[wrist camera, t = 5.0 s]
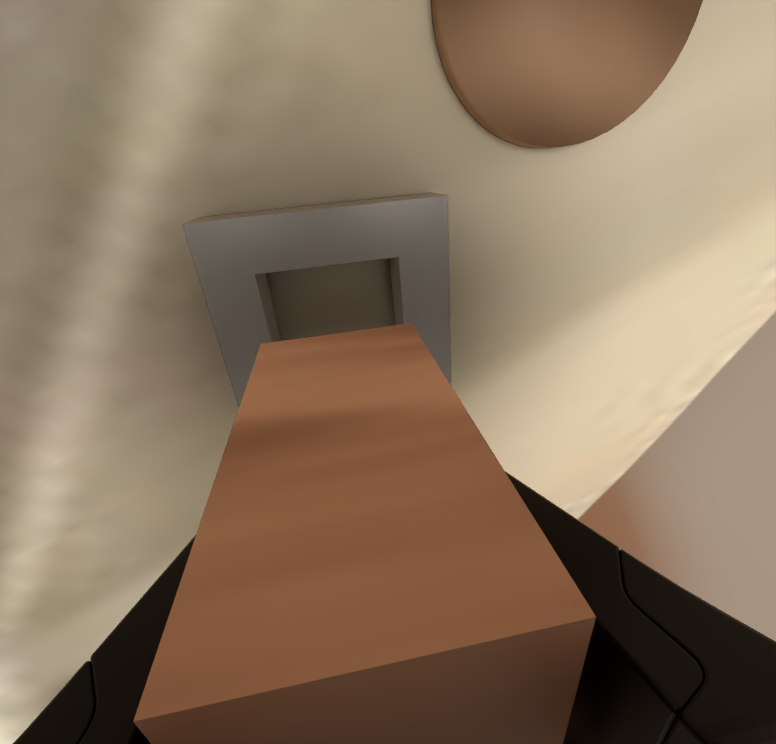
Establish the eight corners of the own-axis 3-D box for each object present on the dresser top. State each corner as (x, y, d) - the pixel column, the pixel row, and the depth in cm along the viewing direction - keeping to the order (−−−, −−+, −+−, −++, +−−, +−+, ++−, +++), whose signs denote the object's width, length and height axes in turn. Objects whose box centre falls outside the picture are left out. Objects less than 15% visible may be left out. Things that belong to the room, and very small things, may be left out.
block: (418, 441, 12) (550, 791, 5) (291, 463, 12) (253, 872, 5) (411, 323, 11) (595, 616, 4) (260, 343, 10) (134, 721, 3)
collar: (437, 385, 21) (451, 410, 19) (257, 414, 20) (250, 443, 18) (430, 192, 17) (447, 195, 15) (201, 217, 16) (182, 224, 14)
